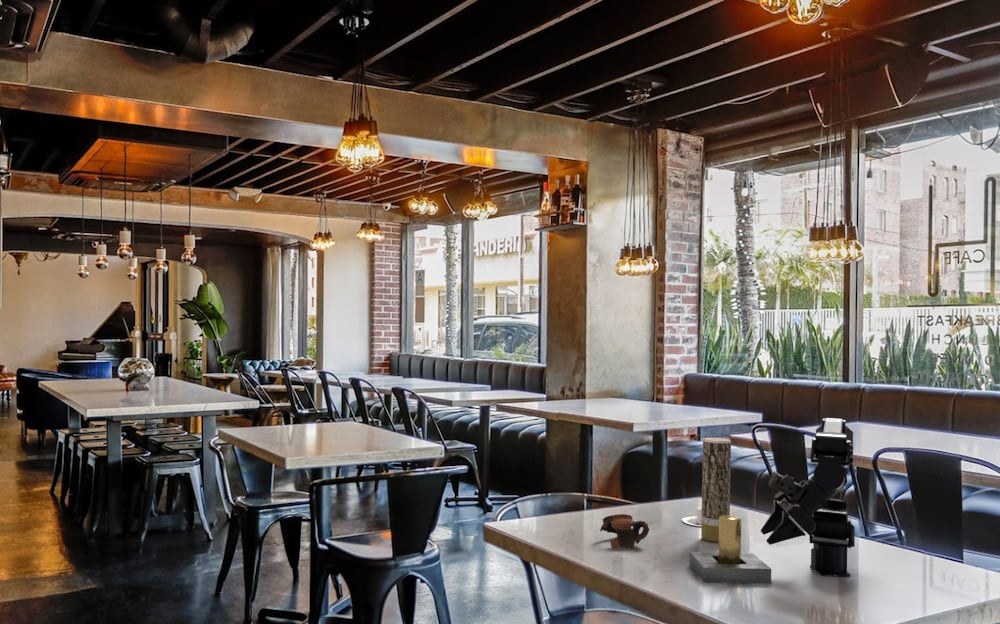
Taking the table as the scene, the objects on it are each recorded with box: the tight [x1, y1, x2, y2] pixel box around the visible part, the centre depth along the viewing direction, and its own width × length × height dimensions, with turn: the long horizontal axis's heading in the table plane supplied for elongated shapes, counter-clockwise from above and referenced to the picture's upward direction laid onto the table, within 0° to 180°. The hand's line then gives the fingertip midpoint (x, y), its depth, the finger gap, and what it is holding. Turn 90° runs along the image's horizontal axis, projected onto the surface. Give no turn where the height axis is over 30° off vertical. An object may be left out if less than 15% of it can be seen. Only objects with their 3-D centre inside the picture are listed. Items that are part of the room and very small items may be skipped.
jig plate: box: [689, 551, 772, 584], centre depth 176 cm, size 14×12×3 cm
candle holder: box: [681, 506, 702, 527], centre depth 223 cm, size 12×12×4 cm
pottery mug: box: [599, 513, 650, 549], centre depth 199 cm, size 12×10×8 cm
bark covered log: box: [700, 437, 732, 543], centre depth 205 cm, size 7×7×25 cm
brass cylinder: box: [718, 515, 742, 564], centre depth 176 cm, size 5×5×12 cm
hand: (764, 537), depth 175 cm, fingers open, 9 cm apart
